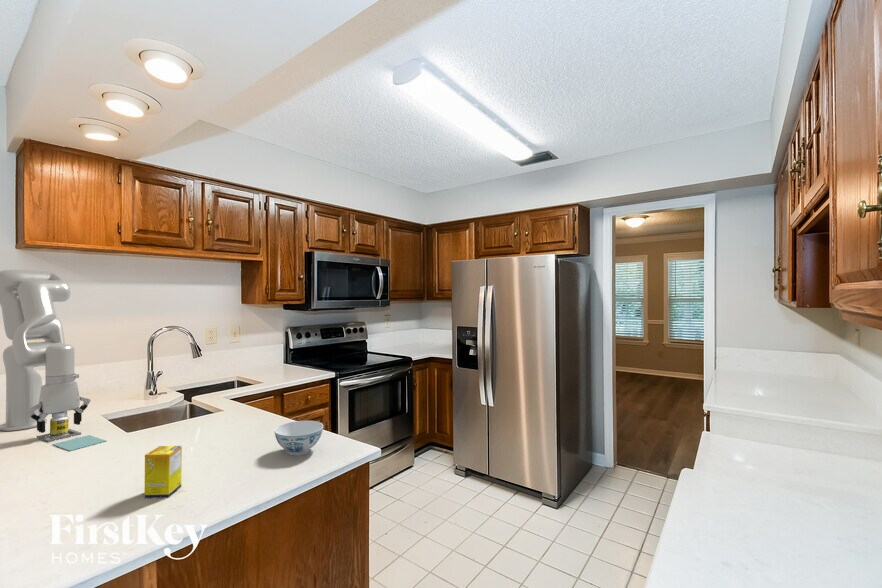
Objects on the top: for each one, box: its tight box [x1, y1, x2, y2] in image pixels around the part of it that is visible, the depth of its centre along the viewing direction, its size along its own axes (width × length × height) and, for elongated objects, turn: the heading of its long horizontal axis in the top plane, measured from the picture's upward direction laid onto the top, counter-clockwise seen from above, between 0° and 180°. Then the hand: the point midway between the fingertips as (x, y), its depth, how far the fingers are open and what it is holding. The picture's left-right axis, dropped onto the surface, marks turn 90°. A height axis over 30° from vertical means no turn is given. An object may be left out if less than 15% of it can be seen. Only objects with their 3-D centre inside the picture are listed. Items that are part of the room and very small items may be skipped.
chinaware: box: [274, 420, 324, 456], centre depth 131 cm, size 15×15×8 cm
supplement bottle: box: [49, 411, 70, 439], centre depth 143 cm, size 5×5×8 cm
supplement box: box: [144, 445, 183, 499], centre depth 103 cm, size 6×6×11 cm
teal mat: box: [52, 434, 107, 452], centre depth 137 cm, size 12×10×1 cm
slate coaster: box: [36, 428, 82, 443], centre depth 143 cm, size 9×9×1 cm
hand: (59, 428), depth 143 cm, fingers open, 9 cm apart
